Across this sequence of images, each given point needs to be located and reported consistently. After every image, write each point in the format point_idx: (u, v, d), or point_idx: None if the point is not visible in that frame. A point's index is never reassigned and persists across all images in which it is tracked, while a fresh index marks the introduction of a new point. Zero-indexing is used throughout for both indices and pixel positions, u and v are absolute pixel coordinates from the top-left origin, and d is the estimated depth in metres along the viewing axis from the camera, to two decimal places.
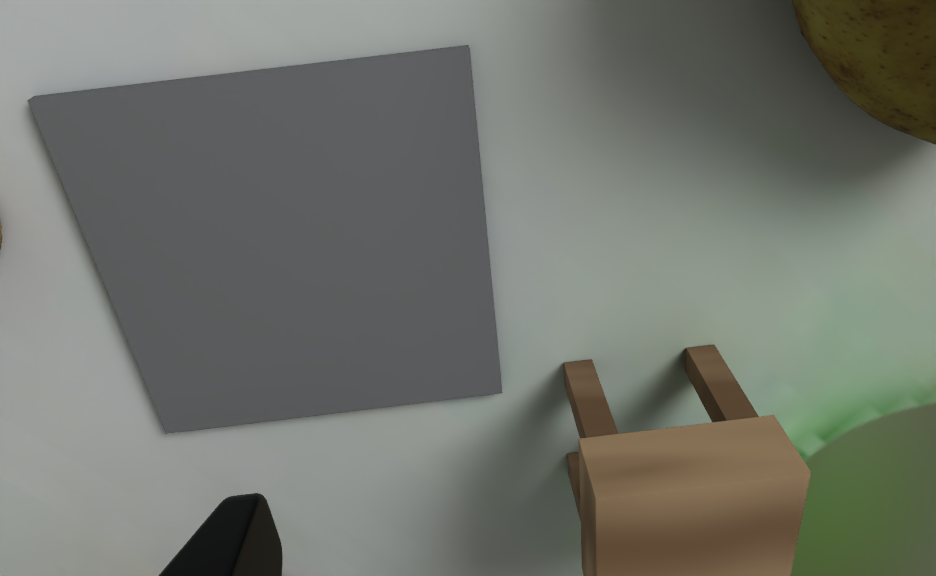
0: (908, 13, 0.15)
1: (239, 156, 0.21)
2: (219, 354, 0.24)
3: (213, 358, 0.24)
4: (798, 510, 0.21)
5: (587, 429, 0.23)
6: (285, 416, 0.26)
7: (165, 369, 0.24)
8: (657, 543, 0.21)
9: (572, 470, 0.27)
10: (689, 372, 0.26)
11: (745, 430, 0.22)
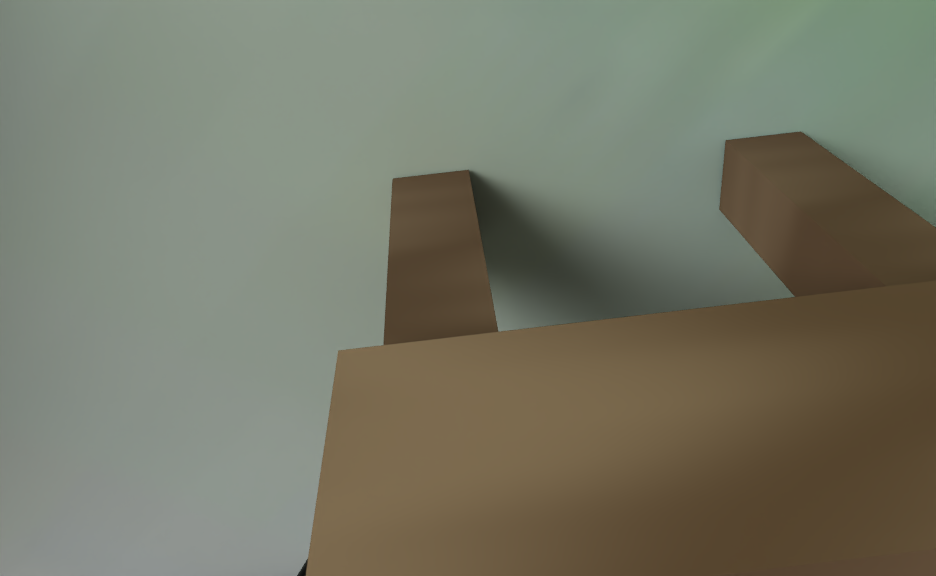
0: None
1: None
2: None
3: None
4: None
5: None
6: None
7: None
8: None
9: None
10: None
11: None
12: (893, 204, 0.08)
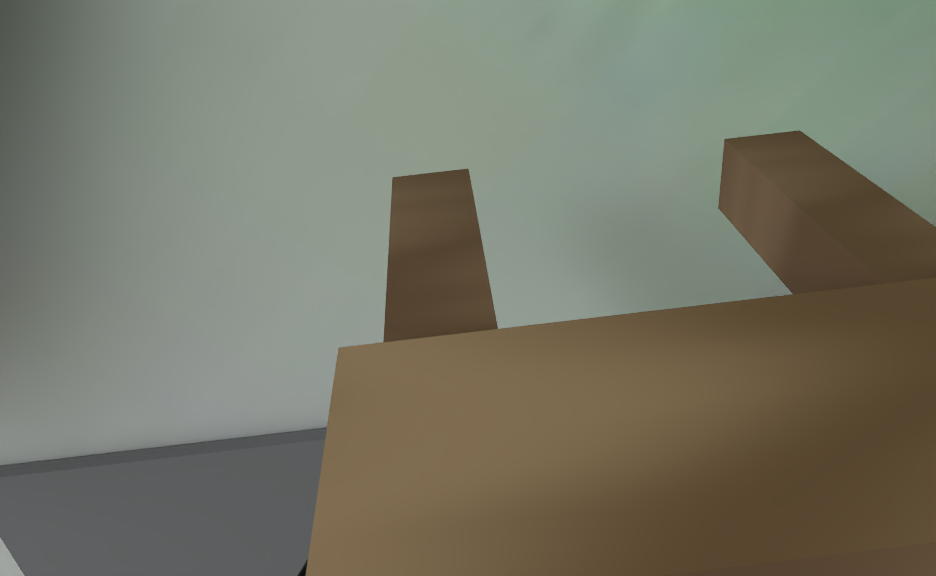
0: None
1: None
2: None
3: None
4: None
5: None
6: None
7: None
8: None
9: None
10: None
11: None
12: (891, 203, 0.08)
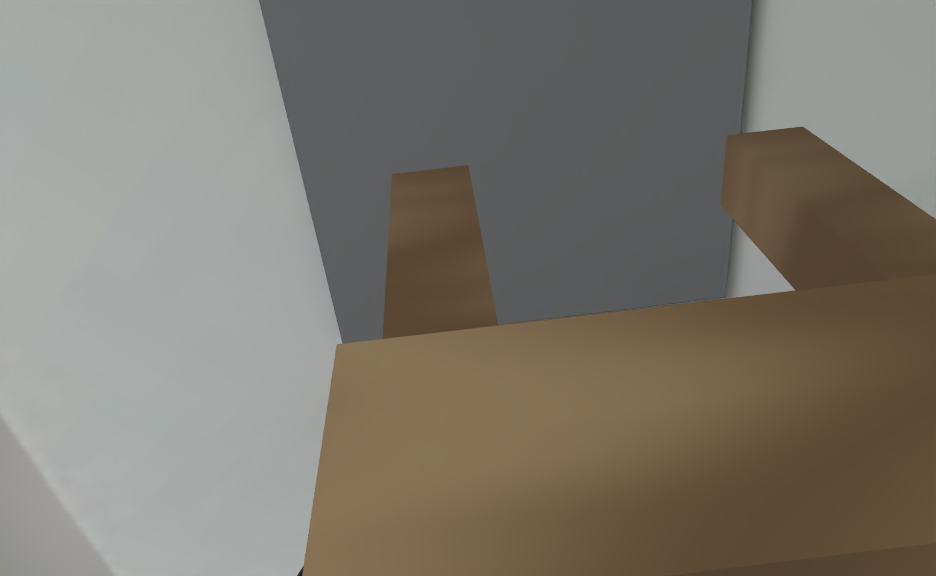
0: None
1: (387, 182, 0.20)
2: (627, 230, 0.21)
3: (631, 237, 0.21)
4: None
5: None
6: None
7: (638, 285, 0.22)
8: None
9: None
10: None
11: None
12: (897, 199, 0.08)
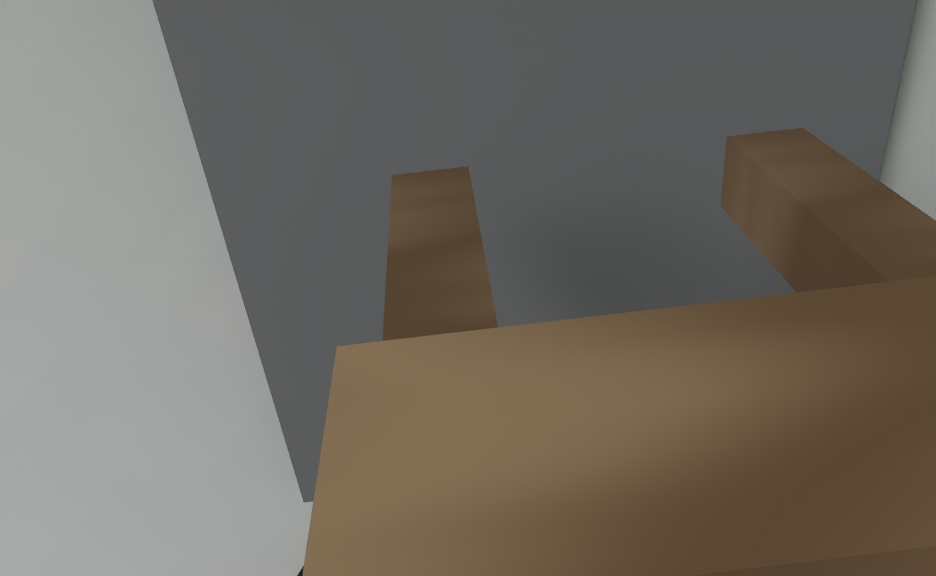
0: None
1: (364, 299, 0.14)
2: None
3: None
4: None
5: None
6: None
7: None
8: None
9: None
10: None
11: None
12: (896, 200, 0.08)
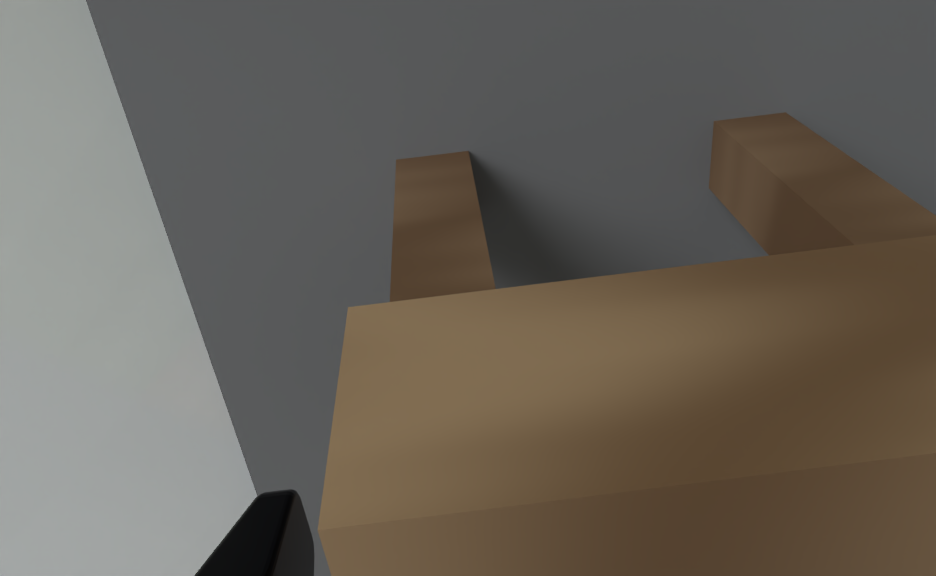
0: None
1: None
2: None
3: None
4: (577, 516, 0.04)
5: None
6: None
7: None
8: None
9: None
10: None
11: None
12: (869, 176, 0.08)
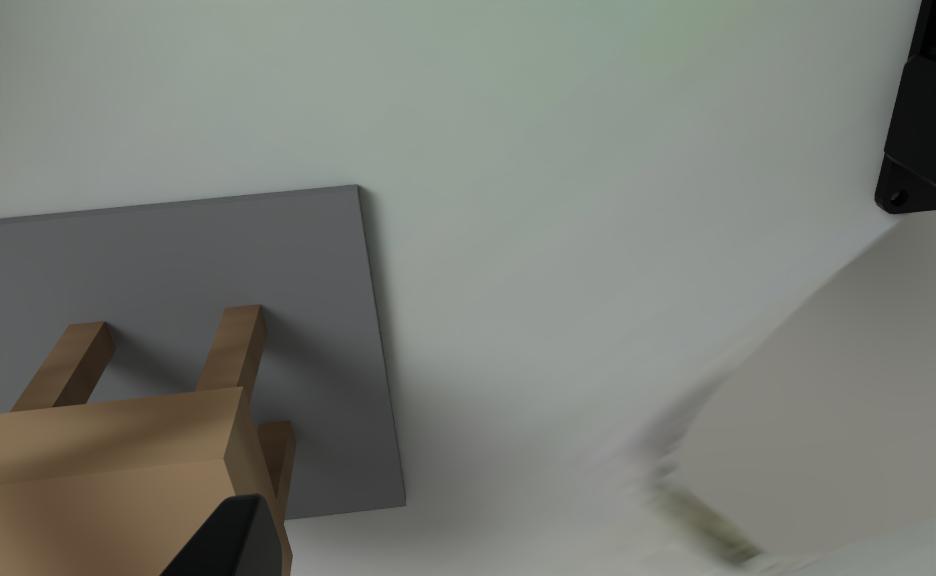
0: None
1: None
2: (303, 458, 0.24)
3: (308, 463, 0.24)
4: (4, 489, 0.15)
5: None
6: (388, 412, 0.23)
7: (323, 498, 0.25)
8: None
9: None
10: None
11: None
12: (243, 351, 0.19)
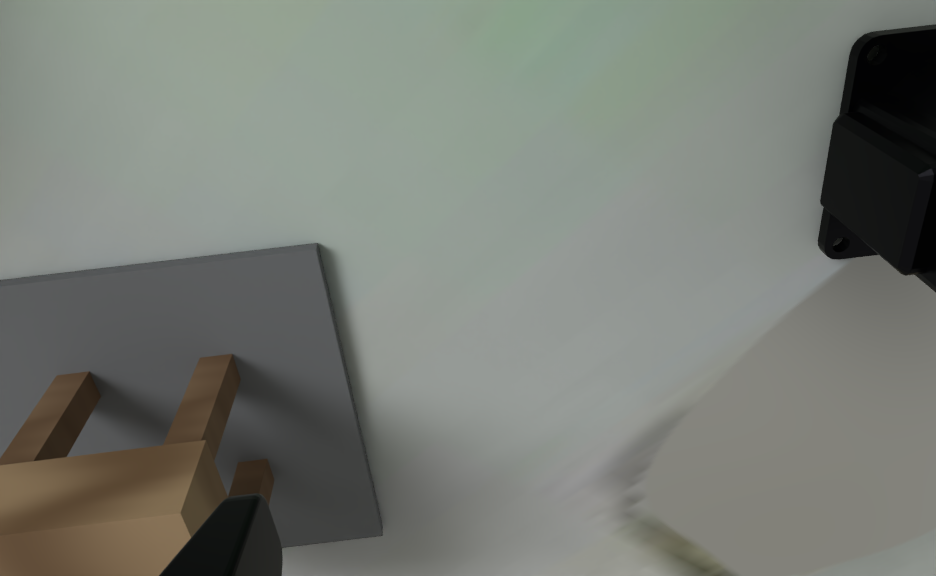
0: None
1: None
2: (282, 493, 0.25)
3: (287, 497, 0.26)
4: None
5: None
6: (359, 450, 0.25)
7: (303, 529, 0.26)
8: None
9: None
10: None
11: None
12: (211, 402, 0.20)
